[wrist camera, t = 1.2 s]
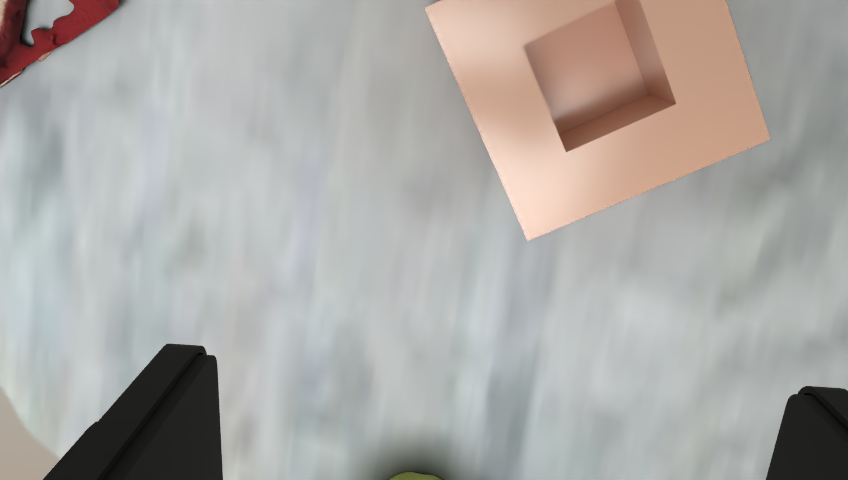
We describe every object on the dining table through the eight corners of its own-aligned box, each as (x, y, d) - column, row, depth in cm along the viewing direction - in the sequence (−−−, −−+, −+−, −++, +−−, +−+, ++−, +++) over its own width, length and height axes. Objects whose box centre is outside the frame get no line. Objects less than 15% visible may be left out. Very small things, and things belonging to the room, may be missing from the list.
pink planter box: (649, -99, 35) (685, -124, 29) (724, 123, 38) (770, 139, 32) (430, 12, 37) (424, 8, 31) (519, 211, 40) (527, 240, 35)
